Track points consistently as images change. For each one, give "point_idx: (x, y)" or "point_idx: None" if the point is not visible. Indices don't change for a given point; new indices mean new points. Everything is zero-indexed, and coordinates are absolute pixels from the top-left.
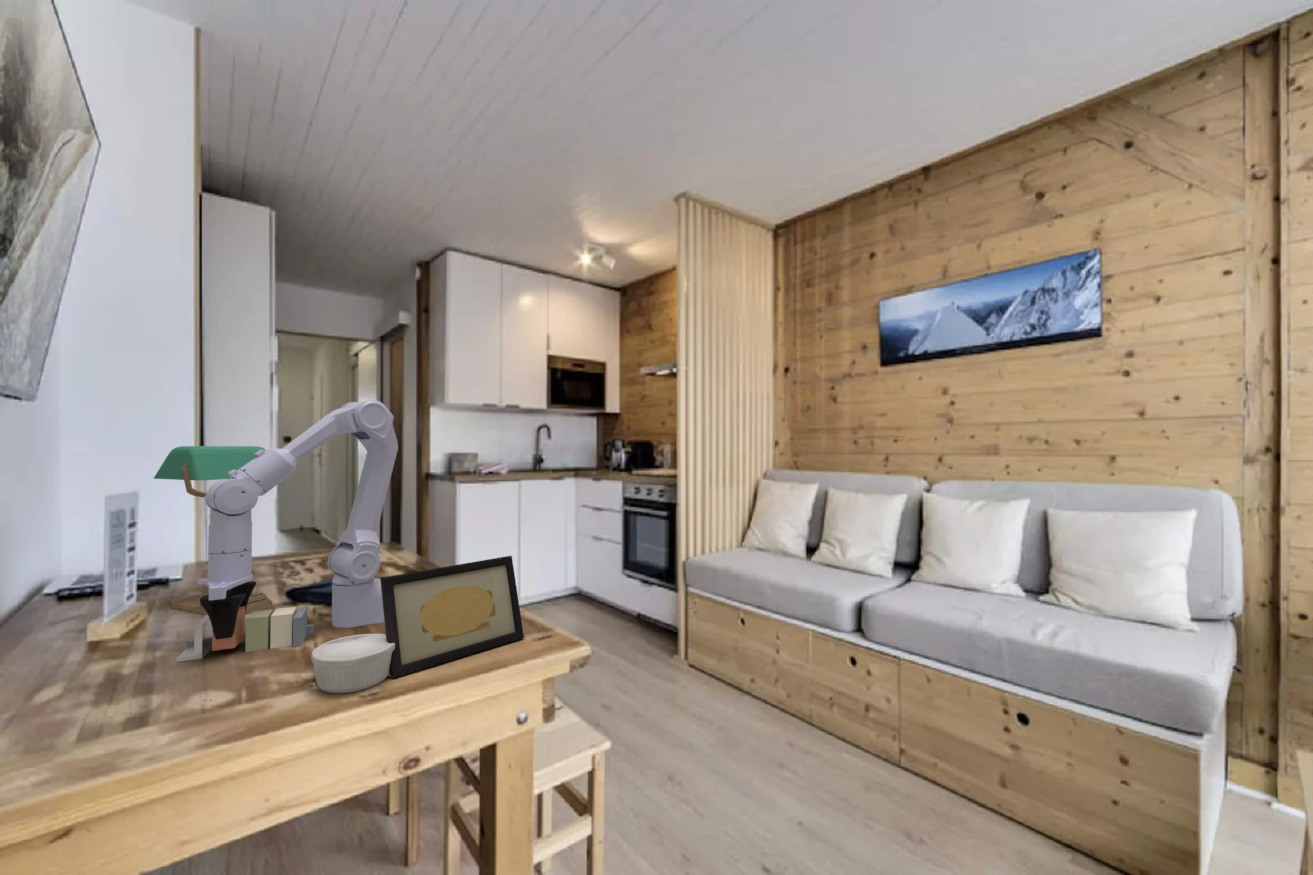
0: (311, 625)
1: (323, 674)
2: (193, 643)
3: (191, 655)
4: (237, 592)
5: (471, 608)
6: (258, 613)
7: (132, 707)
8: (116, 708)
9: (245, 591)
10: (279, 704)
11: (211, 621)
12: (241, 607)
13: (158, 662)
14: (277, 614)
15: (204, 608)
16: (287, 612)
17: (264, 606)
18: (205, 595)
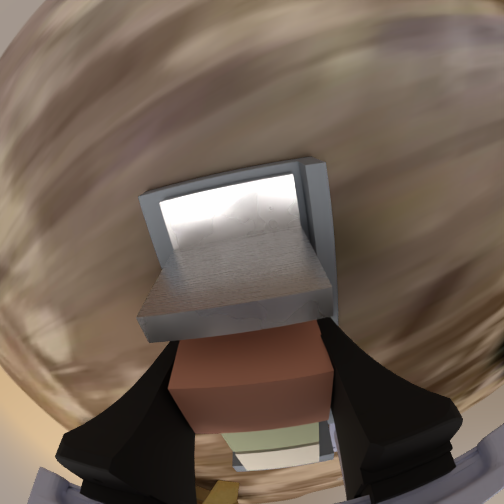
0: (328, 422)
1: None
2: (306, 185)
3: (179, 239)
4: (348, 464)
5: None
6: (281, 432)
7: (7, 236)
8: (3, 211)
9: (346, 474)
10: (60, 399)
11: (138, 382)
12: (309, 419)
13: (252, 97)
14: (250, 458)
15: (86, 423)
16: (265, 464)
17: None
18: (114, 476)
